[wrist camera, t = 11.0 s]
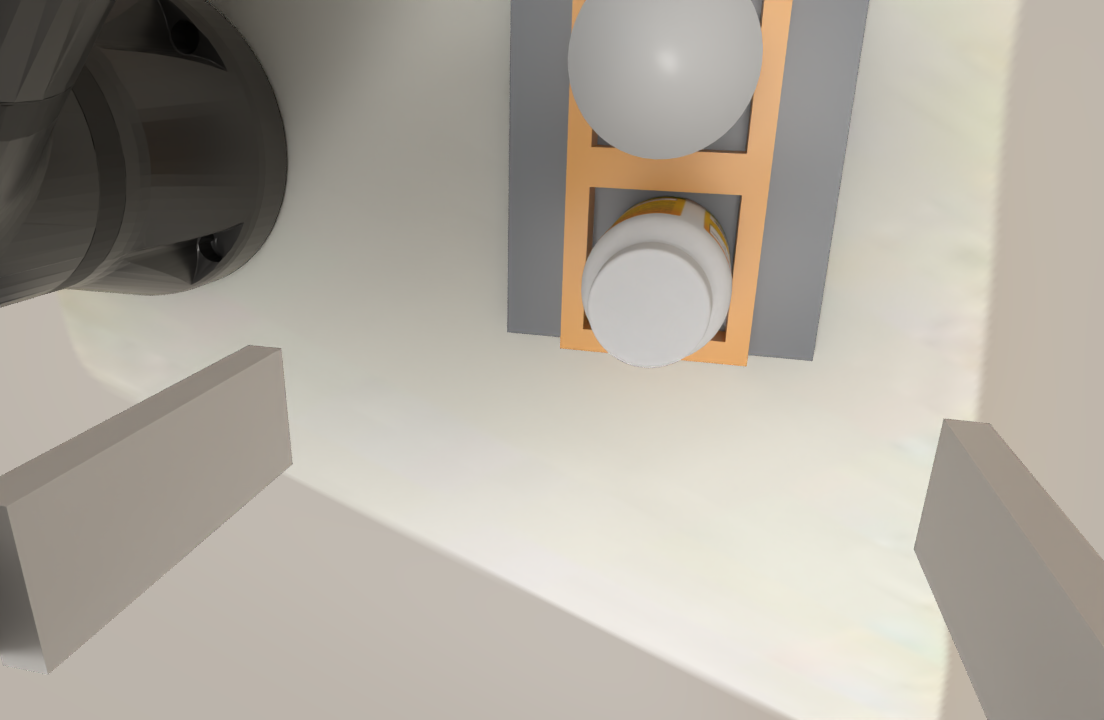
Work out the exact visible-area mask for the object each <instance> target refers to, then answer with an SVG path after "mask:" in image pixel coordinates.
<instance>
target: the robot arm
mask: <svg viewBox="0 0 1104 720" xmlns="http://www.w3.org/2000/svg"><path fill="white" fill-rule="evenodd" d="M285 180H286V145H285V136H284V130H283V125H282V120H281V116H280V112H279V109H278V105H277V102H276V99H275V96H274V94H273V91H272V88H271V86H270V84H269V81H268V79H267V77H266V75H265V73H264V71H263V69H262V67H261V65H260V63H259V62H258V60H257V58H256V57H255V55H254V53H253V52H252V50H251V49H250V47H249V46H248V45H247V43H246V42H245V40H244V39H243V38H242V37H241V35H240V34H239V33H238V32H237V30H236V29H235V28H234V27H233V26H232V25H231V24H230V23H229V22H228V21H227V20H226V19H225V18H224V17H223V16H222V15H221V14H220V13H219V12H218V11H217V10H216V9H214V8H213V7H212V6H211V5H210V4H208V3H207V2H206V1H204V0H0V307H4V306H7V305H11V304H14V303H18V302H21V301H24V300H28V299H31V298H34V297H37V296H40V295H44V294H47V293H51V292H54V291H58V290H62V289H74V290H86V291H98V292H110V293H122V294H133V295H149V296H153V295H166V294H174V293H179V292H184V291H187V290H190V289H194V288H196V287H199V286H202V285H205V284H208V283H210V282H213V281H216V280H218V279H221V278H223V277H225V276H227V275H229V274H231V273H232V272H234V271H235V270H237V269H239V268H240V267H241V266H242V265H244V264H245V263H246V262H247V261H248V260H249V259H250V258H251V257H252V256H253V255H254V254H255V253H256V252H257V251H258V249H259V248H260V247H261V245H262V244H263V243H264V241H265V240H266V238H267V236H268V235H269V233H270V231H271V229H272V227H273V225H274V223H275V220H276V218H277V215H278V212H279V209H280V206H281V202H282V198H283V194H284V187H285ZM291 465H292V454H291V443H290V433H289V423H288V412H287V402H286V392H285V381H284V371H283V361H282V350H281V348H272V347H263V346H253V345H248V346H246V347H244V348H242V349H240V350H238V351H237V352H235V353H233V354H231V355H229V356H227V357H225V358H223V359H221V360H220V361H218V362H216V363H214V364H212V365H210V366H208V367H206V368H204V369H202V370H201V371H199V372H197V373H195V374H193V375H191V376H189V377H187V378H185V379H184V380H182V381H180V382H178V383H176V384H174V385H172V386H170V387H168V388H166V389H165V390H163V391H161V392H159V393H157V394H155V395H153V396H151V397H149V398H148V399H146V400H144V401H142V402H140V403H138V404H136V405H134V406H132V407H130V408H129V409H127V410H125V411H123V412H121V413H119V414H117V415H115V416H113V417H112V418H110V419H108V420H106V421H104V422H102V423H100V424H98V425H96V426H94V427H93V428H91V429H89V430H87V431H85V432H83V433H81V434H79V435H78V436H76V437H74V438H72V439H70V440H68V441H66V442H64V443H62V444H60V445H59V446H57V447H55V448H53V449H51V450H49V451H47V452H45V453H44V454H41V455H40V456H38V457H36V458H34V459H32V460H30V461H28V462H26V463H25V464H22V465H21V466H19V467H17V468H15V469H13V470H11V471H9V472H7V473H5V474H4V475H2V476H0V656H1V660H2V664H3V665H4V666H8V667H14V668H18V669H23V670H28V671H33V672H38V673H42V674H47V675H48V674H49V673H50V672H51V671H53V670H54V669H55V668H56V667H57V666H59V665H60V664H61V663H62V662H63V661H64V660H66V659H67V658H68V657H69V656H70V655H71V654H73V653H74V652H75V651H76V650H77V649H78V648H80V647H81V646H82V645H83V644H84V643H85V642H86V641H88V640H89V639H90V638H91V637H92V636H93V635H95V634H96V633H97V632H98V631H99V630H100V629H102V628H103V627H104V626H105V625H106V624H107V623H109V622H110V621H111V620H112V619H113V618H114V617H115V616H117V615H118V614H119V613H120V612H121V611H123V610H124V609H125V608H126V607H127V606H128V605H129V604H131V603H132V602H133V601H134V600H135V599H136V598H137V597H139V596H140V595H141V594H142V593H143V592H145V591H146V590H147V589H148V588H149V587H150V586H152V585H153V584H154V583H155V582H156V581H157V580H158V579H160V578H161V577H162V576H163V575H164V574H165V573H167V572H168V571H169V570H170V569H171V568H172V567H174V566H175V565H176V564H177V563H178V562H179V561H181V560H182V559H183V558H184V557H185V556H186V555H188V554H189V553H190V552H191V551H192V550H193V549H194V548H196V547H197V546H198V545H199V544H200V543H201V542H203V541H204V540H205V539H206V538H207V537H208V536H210V535H211V534H212V533H213V532H214V531H215V530H217V529H218V528H219V527H220V526H221V525H222V524H223V523H224V522H226V521H227V520H228V519H229V518H230V517H232V516H233V515H234V514H235V513H236V512H237V511H239V510H240V509H241V508H242V507H243V506H244V505H246V504H247V503H248V502H249V501H250V500H251V499H253V498H254V497H255V496H256V495H257V494H258V493H259V492H261V491H262V490H263V489H264V488H265V487H266V486H268V485H269V484H270V483H271V482H272V481H273V480H275V478H277V477H278V476H279V475H280V474H282V473H283V472H284V471H285V470H286V469H287V468H289V467H290V466H291ZM914 551H915V553H916V555H917V558H918V560H919V562H920V565H921V567H922V569H923V572H924V574H925V576H926V579H927V581H928V583H929V586H930V588H931V590H932V593H933V595H934V597H935V599H936V602H937V604H938V606H939V609H940V611H941V613H942V616H943V618H944V620H945V623H946V625H947V627H948V630H949V632H950V634H951V636H952V639H953V641H954V644H955V646H956V648H957V650H958V653H959V655H960V657H961V660H962V662H963V664H964V667H965V669H966V671H967V674H968V676H969V678H970V680H971V683H972V685H973V688H974V690H975V692H976V694H977V697H978V699H979V701H980V703H981V706H982V708H983V710H984V713H985V715H986V718H987V720H1104V561H1103V559H1102V558H1101V557H1100V556H1099V555H1098V553H1097V552H1096V551H1095V550H1094V548H1093V547H1092V546H1091V545H1090V544H1089V542H1088V541H1087V540H1086V539H1085V538H1084V536H1083V535H1082V534H1081V533H1080V532H1079V530H1078V529H1077V528H1076V527H1075V526H1074V524H1073V523H1072V522H1071V521H1070V519H1069V518H1068V517H1067V516H1066V515H1065V514H1064V512H1063V511H1062V510H1061V509H1060V508H1059V506H1058V505H1057V504H1056V503H1055V501H1054V500H1053V499H1052V498H1051V497H1050V495H1049V494H1048V493H1047V492H1046V491H1045V490H1044V488H1043V487H1042V486H1041V485H1040V483H1039V482H1038V481H1037V480H1036V479H1035V478H1034V476H1033V475H1032V474H1031V473H1030V471H1029V470H1028V469H1027V468H1026V466H1025V465H1024V464H1023V463H1022V462H1021V461H1020V459H1019V458H1018V457H1017V456H1016V454H1015V453H1014V452H1013V451H1012V450H1011V449H1010V447H1009V446H1008V445H1007V444H1006V442H1005V441H1004V440H1003V439H1002V438H1001V436H1000V435H999V434H998V433H997V432H996V430H995V429H994V428H993V427H992V426H991V424H989V423H980V422H971V421H961V420H952V419H944V420H943V424H942V428H941V433H940V437H939V441H938V446H937V450H936V454H935V459H934V463H933V467H932V472H931V476H930V481H929V485H928V489H927V494H926V498H925V502H924V507H923V511H922V515H921V520H920V524H919V528H918V533H917V537H916V541H915V546H914Z"/></svg>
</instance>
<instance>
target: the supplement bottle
mask: <svg viewBox="0 0 1104 720" xmlns="http://www.w3.org/2000/svg"><path fill="white" fill-rule="evenodd" d="M731 294H732V274H731V264H730V253H729V246H728V242H727V239H726V236H725V233H724V231H723V229H722V227H721V225H720V224H719V222H718V221H717V219H716V218H715V217H714V216H713V215H712V214H711V213H710V212H709V211H708V210H707V209H706V208H704V207H703V206H701V205H700V204H698V203H696V202H694V201H692V200H689V199H686V198H682V197H677V196H659V197H654V198H650V199H647V200H644V201H642V202H640V203H638V204H636V205H634V206H633V207H631V208H630V209H628V210H627V211H626V212H625V213H624V214H623V215H622V216H621V217H620V218H619V219H618V220H617V221H616V222H615V223H614V224H613V225H612V226H611V227H610V228H609V229H608V230H607V231H606V233H605V234H604V235H603V236H602V237H601V238H600V239H599V240H598V242H597V243H596V244H595V246H594V247H593V249H592V250H591V253H590V255H589V256H588V259H587V261H586V263H585V267H584V270H583V275H582V286H581V295H582V303H583V307H584V310H585V313H586V316H587V318H588V320H589V323H590V326H591V329H592V331H593V333H594V335H595V337H596V338H597V340H598V342H599V343H600V344H601V346H602V347H603V348H604V349H605V350H606V351H607V352H608V353H610V354H611V355H612V356H614V357H615V358H617V359H618V360H620V361H622V362H624V363H627V364H630V365H633V366H637V367H644V368H655V367H662V366H667V365H670V364H673V363H675V362H678V361H679V360H681V359H683V358H684V357H687V356H689V355H691V354H693V353H695V352H696V351H698V350H699V349H701V348H702V347H704V346H705V345H706V344H707V343H708V342H709V341H710V340H711V339H712V338H713V337H714V336H715V335H716V333H717V332H718V330H719V329H720V327H721V326H722V324H723V322H724V320H725V318H726V316H727V313H728V310H729V306H730V301H731Z"/></svg>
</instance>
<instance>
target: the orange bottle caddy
mask: <svg viewBox="0 0 1104 720" xmlns="http://www.w3.org/2000/svg"><path fill="white" fill-rule="evenodd" d="M868 5H869V0H511V40H510V133H509V227H508V321H507V332H511V333H522V334H533V335H543V336H554V337H560V348H563V349H573V350H584V351H594V352H604V353H608V352H607V351H606V350H605V349H604V348H603V347H602V346H601V344H600V343H599V342H598V340H597V338H596V337H595V335H594V333H593V331H592V329H591V326H590V323H589V320H588V318H587V316H586V313H585V310H584V307H583V303H582V295H581V286H582V275H583V270H584V267H585V263H586V261H587V259H588V256H589V255H590V253H591V250H592V249H593V247H594V246H595V244H596V243H597V242H598V240H599V239H600V238H601V237H602V236H603V235H604V234H605V233H606V231H607V230H608V229H609V228H610V227H611V226H612V225H613V224H614V223H615V222H616V221H617V220H618V219H619V218H620V217H621V216H622V215H623V214H624V213H625V212H626V211H627V210H628V209H630V208H631V207H633V206H634V205H636V204H638V203H640V202H642V201H644V200H647V199H650V198H654V197H659V196H677V197H682V198H686V199H689V200H692V201H694V202H696V203H698V204H700V205H701V206H703V207H704V208H706V209H707V210H708V211H709V212H710V213H711V214H712V215H713V216H714V217H715V218H716V219H717V221H718V222H719V224H720V225H721V227H722V229H723V231H724V233H725V236H726V239H727V242H728V246H729V253H730V264H731V274H732V294H731V301H730V306H729V310H728V313H727V316H726V318H725V320H724V322H723V324H722V326H721V327H720V329H719V330H718V332H717V333H716V335H715V336H714V337H713V338H712V339H711V340H710V341H709V342H708V343H707V344H706V345H705V346H704V347H702V348H701V349H699V350H698V351H696V352H695V353H693V354H691V355H689V356H687V357H684V358H683V359H681V360H686V361H696V362H707V363H717V364H727V365H737V366H747V359H748V355H755V356H765V357H776V358H786V359H797V360H807V361H813V355H814V348H815V342H816V336H817V329H818V323H819V317H820V310H821V304H822V297H823V291H824V285H825V278H826V272H827V266H828V259H829V253H830V247H831V240H832V234H833V228H834V221H835V215H836V208H837V202H838V196H839V189H840V183H841V177H842V170H843V164H844V158H845V151H846V145H847V139H848V132H849V126H850V119H851V113H852V107H853V100H854V94H855V88H856V81H857V75H858V69H859V62H860V56H861V49H862V43H863V37H864V30H865V24H866V18H867V11H868Z"/></svg>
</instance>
